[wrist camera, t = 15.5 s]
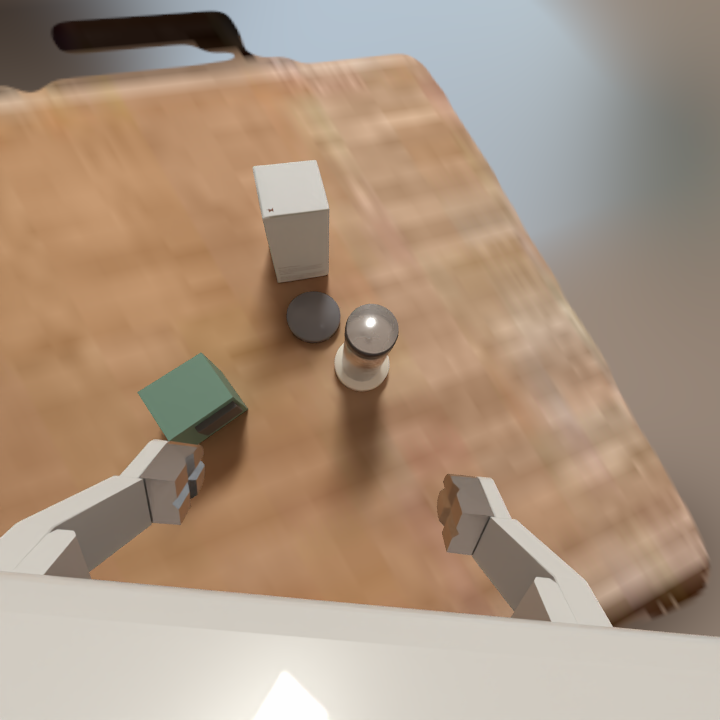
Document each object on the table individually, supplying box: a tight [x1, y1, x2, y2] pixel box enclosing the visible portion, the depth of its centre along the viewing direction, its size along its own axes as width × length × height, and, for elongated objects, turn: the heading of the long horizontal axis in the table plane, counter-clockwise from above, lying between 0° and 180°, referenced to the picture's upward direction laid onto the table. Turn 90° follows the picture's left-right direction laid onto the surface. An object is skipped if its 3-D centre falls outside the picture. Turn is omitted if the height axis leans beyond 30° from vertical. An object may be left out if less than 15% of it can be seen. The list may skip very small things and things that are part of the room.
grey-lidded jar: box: [342, 304, 398, 382], centre depth 37 cm, size 5×5×11 cm
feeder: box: [138, 353, 248, 445], centre depth 37 cm, size 7×7×7 cm
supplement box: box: [253, 160, 329, 283], centre depth 42 cm, size 7×7×13 cm
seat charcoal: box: [287, 291, 340, 343], centre depth 44 cm, size 7×7×1 cm
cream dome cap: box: [335, 344, 389, 392], centre depth 43 cm, size 7×7×1 cm
